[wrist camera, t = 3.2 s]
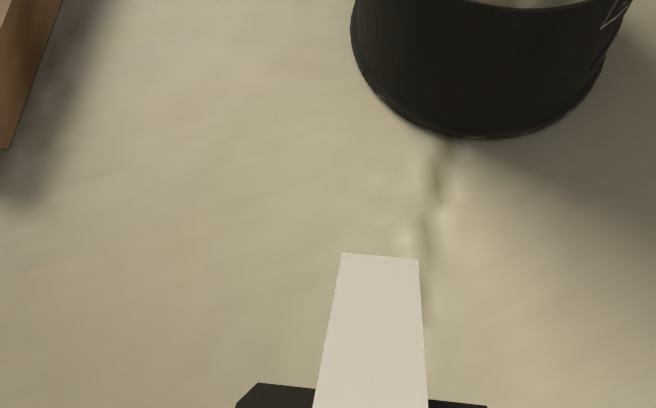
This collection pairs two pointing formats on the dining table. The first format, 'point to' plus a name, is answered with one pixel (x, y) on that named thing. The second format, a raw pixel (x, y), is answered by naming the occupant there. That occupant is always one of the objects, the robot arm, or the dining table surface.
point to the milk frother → (483, 59)
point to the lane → (21, 55)
